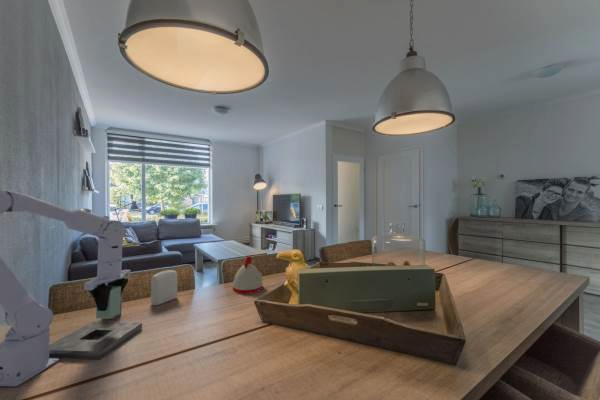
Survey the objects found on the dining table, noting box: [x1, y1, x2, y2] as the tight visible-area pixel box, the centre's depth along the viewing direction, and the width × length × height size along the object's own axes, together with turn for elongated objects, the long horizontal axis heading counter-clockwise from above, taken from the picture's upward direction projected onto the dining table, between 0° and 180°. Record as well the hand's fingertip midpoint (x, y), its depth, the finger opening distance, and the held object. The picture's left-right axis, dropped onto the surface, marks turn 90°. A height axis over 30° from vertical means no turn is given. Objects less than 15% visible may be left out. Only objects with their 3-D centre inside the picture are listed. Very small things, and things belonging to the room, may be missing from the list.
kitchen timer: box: [232, 255, 264, 294], centre depth 120 cm, size 14×14×15 cm
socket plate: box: [49, 320, 143, 360], centre depth 73 cm, size 16×16×2 cm
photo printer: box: [150, 269, 178, 306], centre depth 104 cm, size 10×4×12 cm, turn 152°
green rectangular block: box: [95, 286, 121, 320], centre depth 74 cm, size 4×4×8 cm
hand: (108, 307), depth 74 cm, fingers closed on green rectangular block, 4 cm apart
